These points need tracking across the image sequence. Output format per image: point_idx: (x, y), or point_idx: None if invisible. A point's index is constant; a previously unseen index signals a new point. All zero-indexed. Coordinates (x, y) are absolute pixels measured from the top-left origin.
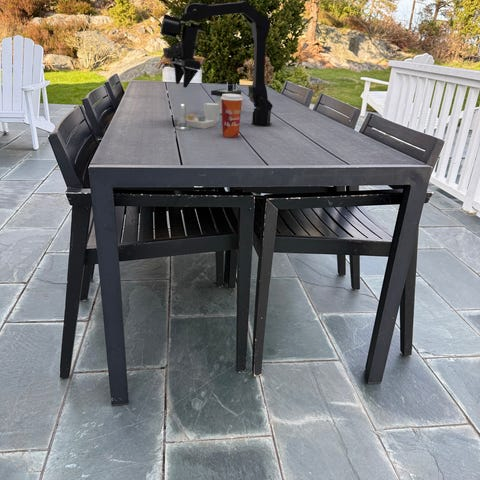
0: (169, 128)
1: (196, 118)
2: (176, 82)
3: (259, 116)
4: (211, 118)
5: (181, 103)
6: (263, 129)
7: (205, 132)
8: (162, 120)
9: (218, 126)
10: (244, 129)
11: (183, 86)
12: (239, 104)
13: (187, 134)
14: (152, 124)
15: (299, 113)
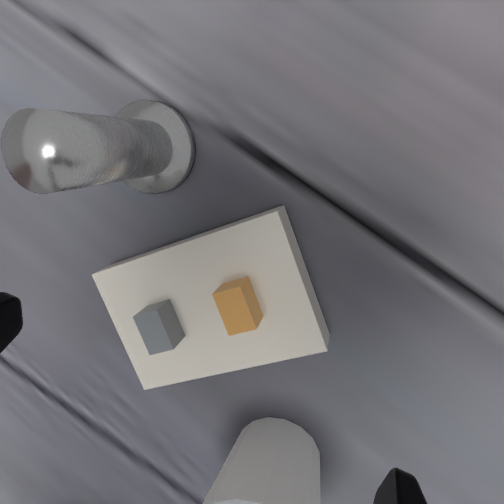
0: (201, 74)
1: (250, 349)
2: (391, 484)
3: None
4: (237, 442)
5: (59, 160)
6: (14, 480)
7: (30, 206)
8: (499, 206)
9: None
10: (36, 419)
11: (3, 295)
12: None
13: (13, 77)
14: (393, 30)
15: None
